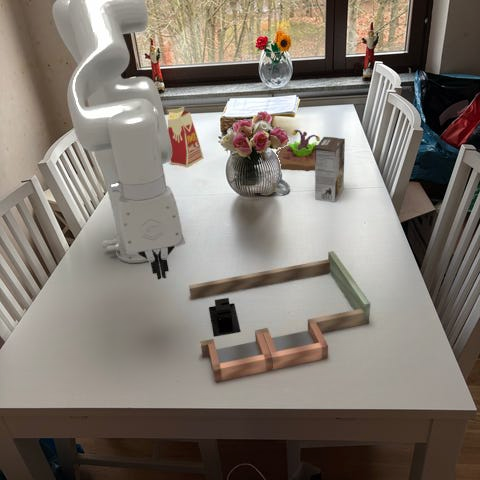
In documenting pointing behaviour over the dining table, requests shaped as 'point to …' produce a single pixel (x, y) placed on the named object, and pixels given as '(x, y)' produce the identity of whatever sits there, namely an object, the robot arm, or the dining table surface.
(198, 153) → the milk carton
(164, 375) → the dining table surface
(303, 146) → the plant
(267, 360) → the track
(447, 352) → the dining table surface
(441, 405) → the dining table surface
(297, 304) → the dining table surface
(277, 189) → the ceramic mug
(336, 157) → the coffee box
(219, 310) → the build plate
